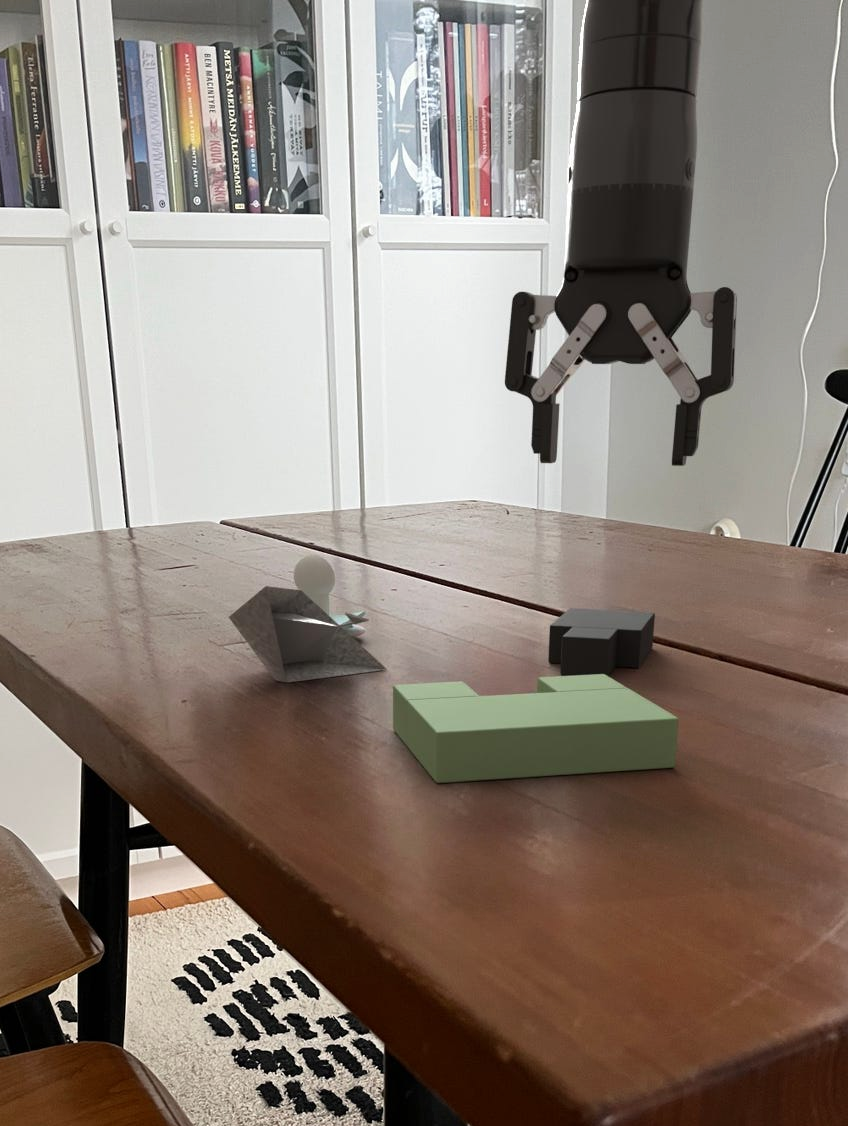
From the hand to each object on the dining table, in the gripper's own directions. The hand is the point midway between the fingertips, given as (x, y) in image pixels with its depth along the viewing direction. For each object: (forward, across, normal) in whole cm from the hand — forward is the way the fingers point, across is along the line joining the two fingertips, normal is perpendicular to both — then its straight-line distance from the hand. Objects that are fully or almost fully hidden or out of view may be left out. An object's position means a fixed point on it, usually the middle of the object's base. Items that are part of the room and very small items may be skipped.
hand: (612, 463), depth 83 cm
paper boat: (+13, +16, +14) cm, 25 cm away
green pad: (+13, 0, +25) cm, 28 cm away
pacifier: (+13, +20, +1) cm, 24 cm away
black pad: (+13, 0, +2) cm, 13 cm away
